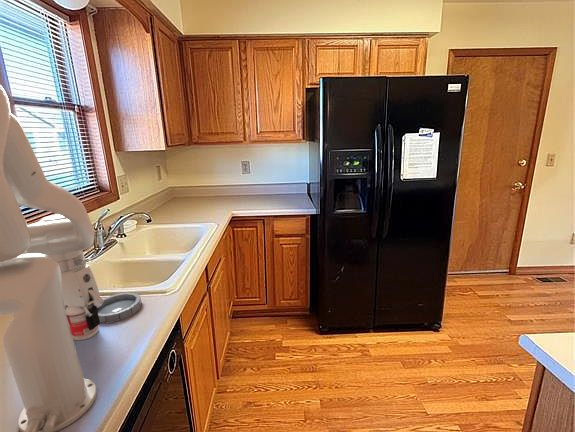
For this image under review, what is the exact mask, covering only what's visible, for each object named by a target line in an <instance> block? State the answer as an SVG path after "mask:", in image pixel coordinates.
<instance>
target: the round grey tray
mask: <svg viewBox="0 0 575 432" xmlns="http://www.w3.org/2000/svg"><path fill="white" fill-rule="evenodd" d="M102 299H103V300H104V302H103V304H102V305H101V307H100V308H99V311H97V312H98V316H99V320H100V324H102V323H103V324H107V323H113V322H118V321H119V322H120V321H122V320H124V319H126V318H128V317H130V316H132V315H134V314H135V313H137V312H138V311H139V310H140V309H141V306H142V299H141V295H139V294H138V293H135V292H123V293H117V294H113V295H111V296H110V295H109V296H108V297H107V296H106V297H105V298H102Z"/></svg>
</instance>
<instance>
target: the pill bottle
mask: <svg viewBox="0 0 575 432" xmlns="http://www.w3.org/2000/svg"><path fill="white" fill-rule="evenodd" d="M88 302H89V301H88ZM67 306H68V307H67V308H66V310H65V312H66V316H67V320H68V323H69V327H70V330H71V334H72V337H73V340H76V341H85V340H87V339H89V338H92V337H93V336H94V335H96V334H97V333H98V332H99V328H100V326H99V325H98V326H96V327H95V328H94V329H92V330H89V328H88V325H87V321H86V316H88V315H87V314H86V312H85V311H84V309H83V308H82V307H77V306H74V304H73V303H72V302H68V301H67ZM88 307H89V309H91V308H92V306H91V305H89V306H88Z"/></svg>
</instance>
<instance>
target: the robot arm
mask: <svg viewBox="0 0 575 432" xmlns="http://www.w3.org/2000/svg"><path fill="white" fill-rule="evenodd" d="M10 105H11V104H10V101H9V98H8V95H7V93H6V91H5V89H4V88H3V86H2V85H1V84H0V316H4V315H12V316H13V318H12V320H11V321H10V322H9V323H8V325H7V327H6V328H5V330H4V332H3V334H2V347H3V349H4V352H5V354H6V358H7V360H8V364H9V366H10V369H11V373H12V374H13V377H14V380H15V383H16V387H17V389H18V392H19V395H20V399H21V401H22V404H23V406H24V408H23V409H22V410H21V412H20V413H19V417H18V418H17V426H18V429H19V430H20V432H58V431H60V430H62V429H63V428H65V427H67V426H70V425H71V424H72V423H74V422H75V421H77V420H79V419H80V418H81V416H83V415H84V414H85V413H86V412H87V411H88V410H89V409H90V408H91V407H92V405H93V404H94V402H95V401H96V398H97V393H98V389H97V386H96V384H95V382H94V381H93V380H90V379H87V378H84V374H83V371H82V367H81V363H80V360H79V357H78V356H79V355H78V353H77V349H76V345H75V342H74V339H73V337H72V334H71V330H70V327H69V323H68V320H67V316H66V312H65V310H66V308H67V307H68V306H67V301H68V302H72V303H73V304H74V306H77V307H82V308H83V309H84V311H85V312H86V314H87V315H88V316H86V321H87V325H88V328H89V330H92V329H94V328H95V327H96V326H98V327H99V325H101V323H100V320H99V316H98V312H97V311H99V308H100V307H101V305H102V304H103V302H104V300H103V299H104V298H103V297H101V295H100V291H99V290H100V289H99V287H98V284H97V281H96V278H95V276H94V274H93V271H92V270H91V267H90V266H89V264H87V260H86V258H85V254H84V250H86V249H89V248H90V247H91V246H92V245H93V244H94V241H95V231H94V227H93V224H92V221H91V219H90V217H89V214H88V211H87V209H86V207H85V206H84V204H83V203H82V201H81V199H79V198H78V197H77V196H76V195H74V194H72V192H70V191H68V190H67V189H65V188H64V187H62V186H60V185H58V184H56V183H54V182H51V181H50V180H48V179H47V177H46V175H45V173H44V171H43V168H42V166H41V165H40V163H39V160H38V159H37V156H36V153H35V151H34V149H33V147H32V145H31V143H30V141H29V139H28V137H27V135H26V133H25V129H24V128H23V126H22V124H21V122H20V121H19V119H18V118H17V117H16V116H15V115H14V114H13V113H11V106H10ZM21 207H24V208H28V209H33V210H34V209H35V210H41V211H46V212H51V213H53V215H52V214H51V215H48V216H44V217H42V218H40V219H39V220H38V221H37V222H34V223H29V224H28V223H27V220H26V218H25V216H24V214H23V211H22V210H21ZM88 301H89V302H88ZM89 305H91V306H92V308H91V309H89V307H88V306H89Z"/></svg>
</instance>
